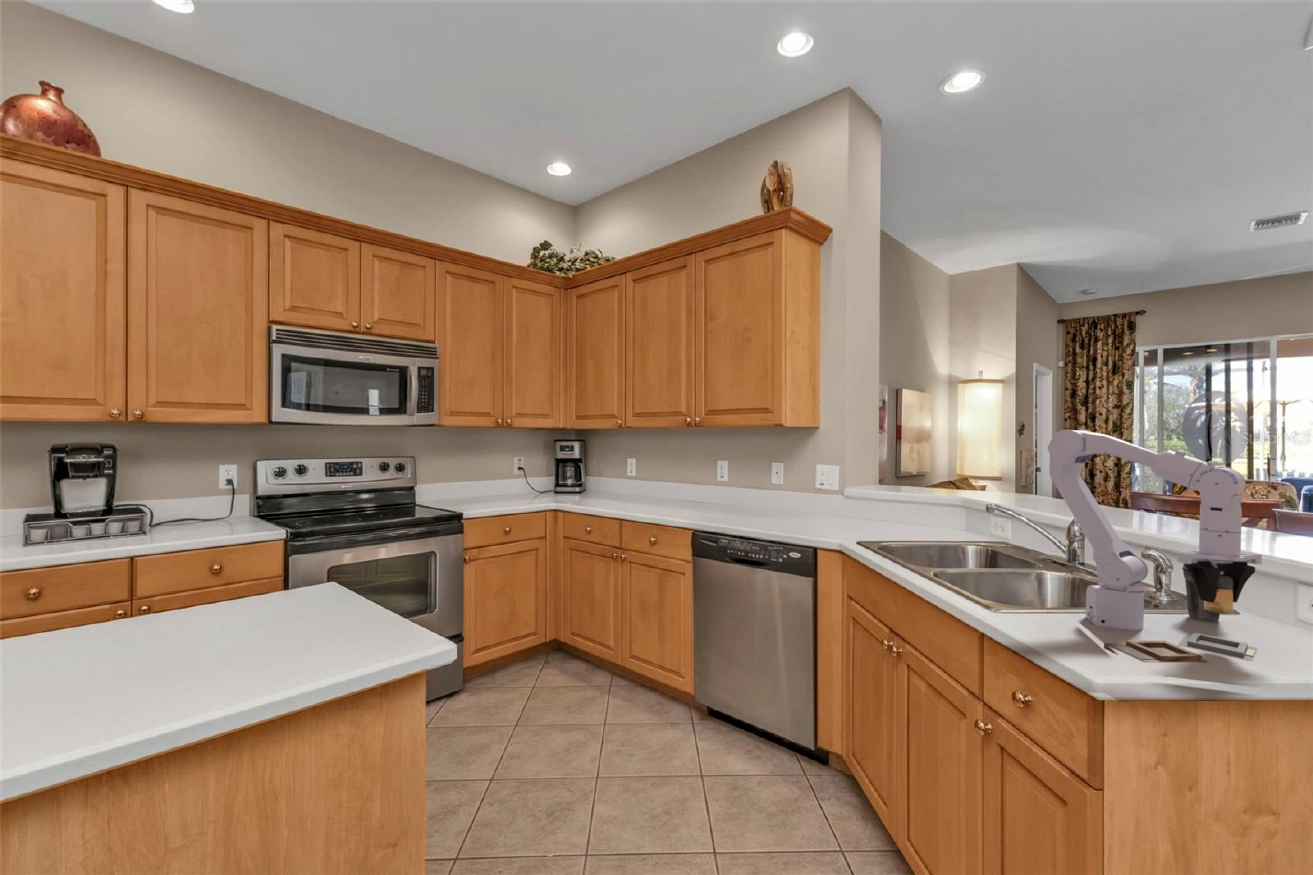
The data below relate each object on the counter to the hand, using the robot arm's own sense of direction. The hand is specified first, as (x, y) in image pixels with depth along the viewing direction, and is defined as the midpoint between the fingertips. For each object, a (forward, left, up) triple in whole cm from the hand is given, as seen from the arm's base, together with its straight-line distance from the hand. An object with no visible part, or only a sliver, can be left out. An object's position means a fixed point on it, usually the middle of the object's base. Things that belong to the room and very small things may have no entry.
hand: (1218, 600), depth 110 cm
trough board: (-13, -8, -10) cm, 18 cm away
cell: (0, 0, -2) cm, 2 cm away
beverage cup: (+7, +20, -10) cm, 23 cm away
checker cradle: (0, 0, -10) cm, 10 cm away
